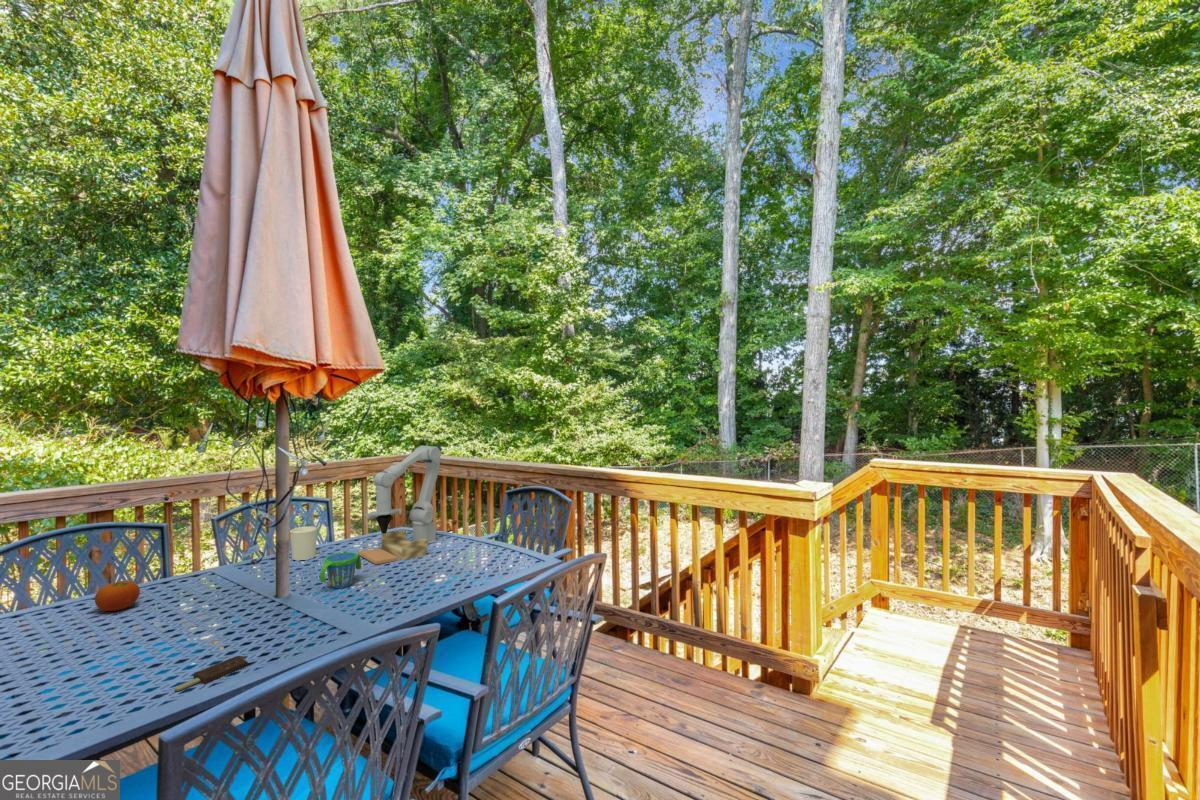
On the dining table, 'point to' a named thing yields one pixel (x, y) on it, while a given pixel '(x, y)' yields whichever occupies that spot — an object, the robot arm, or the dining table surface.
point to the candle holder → (303, 542)
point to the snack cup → (340, 569)
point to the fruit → (117, 595)
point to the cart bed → (403, 545)
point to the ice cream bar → (215, 672)
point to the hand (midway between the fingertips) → (383, 533)
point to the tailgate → (377, 556)
